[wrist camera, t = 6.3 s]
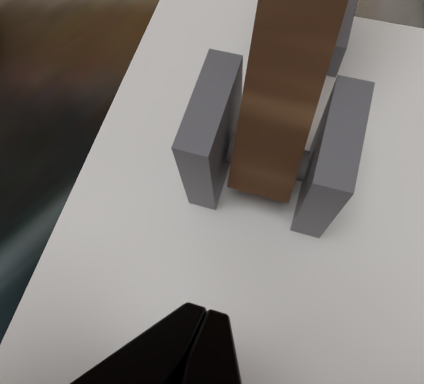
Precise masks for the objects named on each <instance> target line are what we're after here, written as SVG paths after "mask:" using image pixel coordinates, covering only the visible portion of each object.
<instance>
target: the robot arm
mask: <svg viewBox="0 0 424 384" xmlns="http://www.w3.org/2000/svg"><path fill="white" fill-rule="evenodd" d="M70 384H242V381H241V375H240V370H239V365H238V359H237V354H236V349H235V344H234V338H233V333H232V328H231V323H230V318H229V316H228V315H227V314H225V313H222V312H219V311H216V310H212V309H209V310H208V311H207V310H206V308H205V307H203V306H200V305H197V304H193V303H190V302H186V303H184V304H183V305H181V306H180V307H178V308H177V309H175V310H174V311H173V312H171V313H170V314H168V315H167V316H165V317H164V318H163V319H161V320H160V321H158V322H157V323H155V324H154V325H153V326H151V327H150V328H148V329H147V330H145V331H144V332H143V333H141V334H140V335H138V336H137V337H135V338H134V339H133V340H131V341H130V342H128V343H127V344H125V345H124V346H123V347H121V348H120V349H118V350H117V351H115V352H114V353H113V354H111V355H110V356H108V357H107V358H105V359H104V360H103V361H101V362H100V363H98V364H97V365H95V366H94V367H93V368H91V369H90V370H88V371H87V372H85V373H84V374H83V375H81V376H80V377H78V378H77V379H75V380H74V381H73V382H71V383H70Z"/></svg>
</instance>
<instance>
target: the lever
mask: <svg viewBox="0 0 424 384" xmlns="http://www.w3.org/2000/svg"><path fill="white" fill-rule="evenodd" d="M348 1H349V0H258V3H257V9H256V15H255V21H254V27H253V33H252V39H251V45H250V51H249V57H248V63H247V69H246V75H245V81H244V87H243V93H242V99H241V105H240V111H239V117H238V123H237V129H236V133H233V135H232V137H231V140H230V143H229V147H228V151H227V157H226V163H229V164H231V165H230V171H229V177H228V184H227V187H228V188H232V189H236V190H240V191H244V192H248V193H251V194H255V195H259V196H263V197H267V198H271V199H274V200H278V201H282V202H286V203H289V200H290V196H291V193H292V190H293V186H294V183H295V180H297V181H301V182H302V181H303V178H304V175H305V172H306V169H307V165H308V161H309V157H310V151H307V150H304V149H305V146H306V142H307V139H308V136H309V132H310V129H311V126H312V122H313V119H314V115H315V112H316V109H317V105H318V102H319V99H320V95H321V92H322V88H323V85H324V82H325V78H326V75H327V72H328V68H329V65H330V61H331V58H332V55H333V51H334V48H335V45H336V41H337V38H338V34H339V31H340V28H341V24H342V21H343V18H344V14H345V11H346V8H347V4H348Z"/></svg>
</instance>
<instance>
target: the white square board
mask: <svg viewBox="0 0 424 384" xmlns="http://www.w3.org/2000/svg"><path fill="white" fill-rule="evenodd" d="M357 2H358V0H349V1H348V4H347V8H346V11H345V14H344V18H343V21H342V24H341V28H340V31H339V34H338V38H337V41H336V45H335V48H334V51H333V55H332V58H331V61H330V65H329V68H328V72H327V75H326V78H325V82H324V85H323V88H322V92H321V95H320V99H319V102H318V105H317V109H316V112H315V115H314V119H313V122H312V126H311V129H310V132H309V136H308V139H307V142H306V146H305V149H304V150H307V151H310V157H309V161H308V165H307V169H306V172H305V175H304V178H303V181H302V182H301V181H297V180H295V183H294V186H293V190H292V193H291V196H290V200H289V203H286V202H282V201H278V200H274V199H271V198H267V197H263V196H259V195H255V194H251V193H248V192H244V191H240V190H236V189H232V188H228V187H227V184H228V177H229V171H230V165H231V164H229V163H226V157H227V151H228V147H229V143H230V140H231V137H232V135H233V133H236V129H237V123H238V117H239V111H240V105H241V99H242V93H243V87H244V81H245V75H246V69H247V63H248V57H249V51H250V45H251V39H252V33H253V27H254V21H255V15H256V9H257V3H258V0H160V1H159V3H158V5H157V7H156V9H155V12H154V14H153V16H152V18H151V20H150V22H149V25H148V27H147V29H146V31H145V33H144V35H143V38H142V40H141V42H140V44H139V46H138V48H137V51H136V53H135V55H134V57H133V59H132V61H131V64H130V66H129V68H128V70H127V72H126V74H125V76H124V79H123V81H122V83H121V85H120V87H119V89H118V92H117V94H116V96H115V98H114V100H113V102H112V105H111V107H110V109H109V111H108V113H107V115H106V118H105V120H104V122H103V124H102V126H101V128H100V131H99V133H98V135H97V137H96V139H95V141H94V143H93V146H92V148H91V150H90V152H89V154H88V156H87V159H86V161H85V163H84V165H83V167H82V169H81V172H80V174H79V176H78V178H77V180H76V182H75V185H74V187H73V189H72V191H71V193H70V195H69V198H68V200H67V202H66V204H65V206H64V208H63V211H62V213H61V215H60V217H59V219H58V221H57V223H56V226H55V228H54V230H53V232H52V234H51V236H50V239H49V241H48V243H47V245H46V247H45V249H44V252H43V254H42V256H41V258H40V260H39V262H38V265H37V267H36V269H35V271H34V273H33V275H32V278H31V280H30V282H29V284H28V286H27V288H26V290H25V293H24V295H23V297H22V299H21V301H20V303H19V306H18V308H17V310H16V312H15V314H14V316H13V319H12V321H11V323H10V325H9V327H8V329H7V332H6V334H5V336H4V338H3V340H2V342H1V345H0V384H70V383H71V382H73V381H74V380H75V379H77V378H78V377H80V376H81V375H83V374H84V373H85V372H87V371H88V370H90V369H91V368H93V367H94V366H95V365H97V364H98V363H100V362H101V361H103V360H104V359H105V358H107V357H108V356H110V355H111V354H113V353H114V352H115V351H117V350H118V349H120V348H121V347H123V346H124V345H125V344H127V343H128V342H130V341H131V340H133V339H134V338H135V337H137V336H138V335H140V334H141V333H143V332H144V331H145V330H147V329H148V328H150V327H151V326H153V325H154V324H155V323H157V322H158V321H160V320H161V319H163V318H164V317H165V316H167V315H168V314H170V313H171V312H173V311H174V310H175V309H177V308H178V307H180V306H181V305H183V304H184V303H186V302H190V303H193V304H197V305H200V306H203V307H205V308H206V310H207V311H208V310H209V309H212V310H216V311H219V312H222V313H225V314H227V315H228V316H229V318H230V323H231V328H232V333H233V338H234V344H235V349H236V354H237V359H238V365H239V370H240V375H241V381H242V384H424V29H422V28H416V27H410V26H405V25H399V24H394V23H388V22H383V21H377V20H372V19H366V18H360V17H355V16H354V15H355V11H356V6H357Z"/></svg>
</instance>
